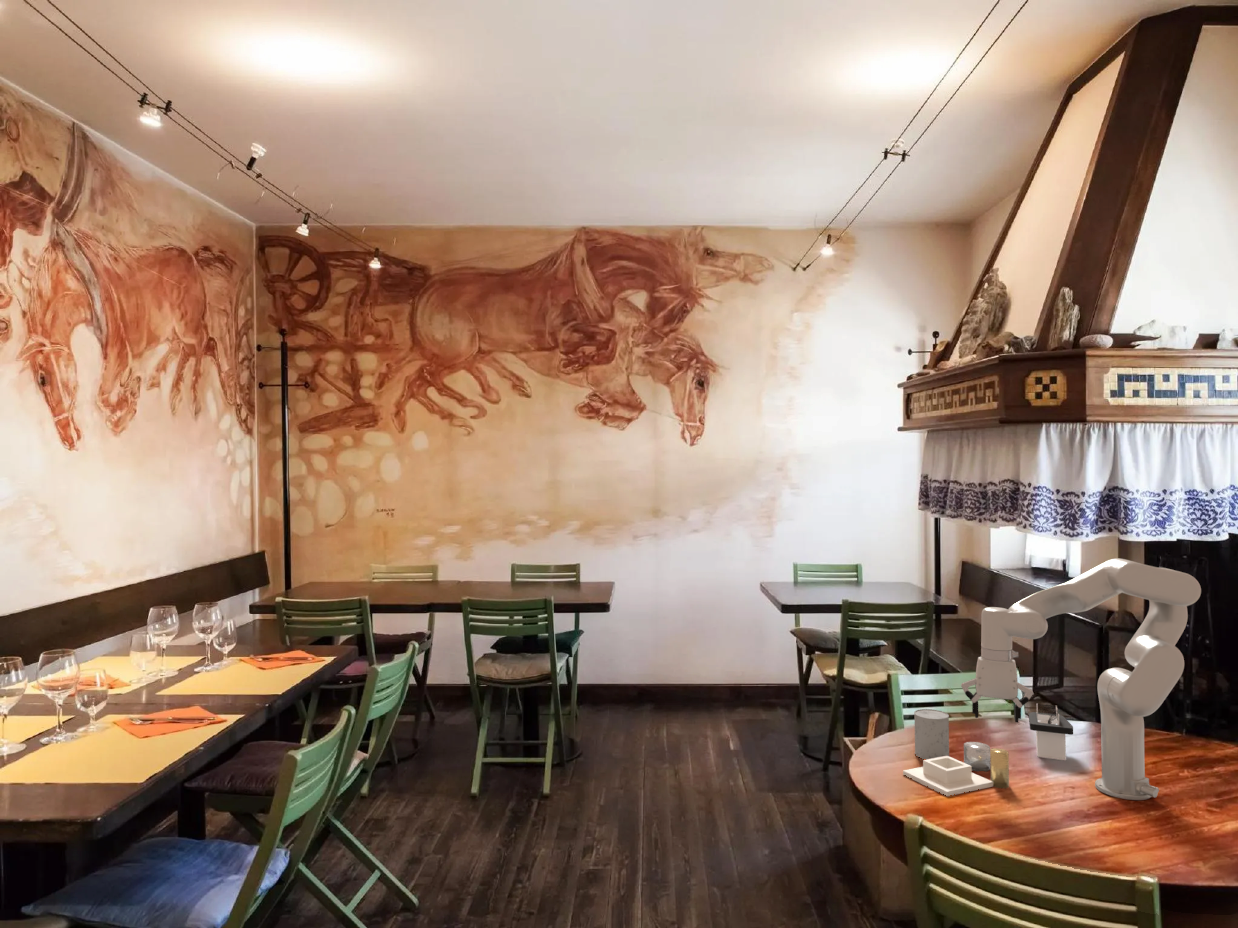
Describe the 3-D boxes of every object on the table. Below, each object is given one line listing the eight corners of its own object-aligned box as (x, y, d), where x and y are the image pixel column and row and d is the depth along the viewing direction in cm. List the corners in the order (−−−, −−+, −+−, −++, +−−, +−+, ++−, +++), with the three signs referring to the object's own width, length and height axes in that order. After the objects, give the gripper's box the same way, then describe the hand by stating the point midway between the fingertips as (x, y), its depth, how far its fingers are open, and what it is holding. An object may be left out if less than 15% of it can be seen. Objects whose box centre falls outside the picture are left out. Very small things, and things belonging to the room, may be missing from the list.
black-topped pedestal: (1108, 777, 219) (1107, 728, 219) (1001, 763, 230) (1000, 717, 230) (1097, 745, 244) (1096, 701, 245) (1001, 733, 256) (1000, 691, 256)
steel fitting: (995, 769, 226) (995, 747, 226) (977, 773, 223) (977, 751, 223) (976, 761, 232) (976, 740, 232) (958, 764, 229) (958, 743, 229)
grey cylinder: (943, 750, 241) (943, 709, 241) (953, 762, 231) (953, 719, 231) (910, 749, 242) (910, 708, 242) (919, 761, 232) (919, 718, 232)
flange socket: (993, 786, 214) (993, 768, 214) (947, 796, 208) (946, 778, 208) (947, 765, 228) (947, 749, 229) (903, 774, 222) (902, 757, 222)
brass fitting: (1012, 786, 213) (1012, 752, 213) (1000, 789, 212) (1000, 755, 212) (999, 780, 218) (998, 747, 218) (987, 783, 216) (986, 749, 216)
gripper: (1031, 654, 215) (1031, 718, 215) (961, 648, 221) (960, 710, 221) (1034, 660, 208) (1034, 727, 208) (961, 654, 214) (961, 718, 214)
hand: (996, 718), depth 215 cm, fingers open, 9 cm apart
